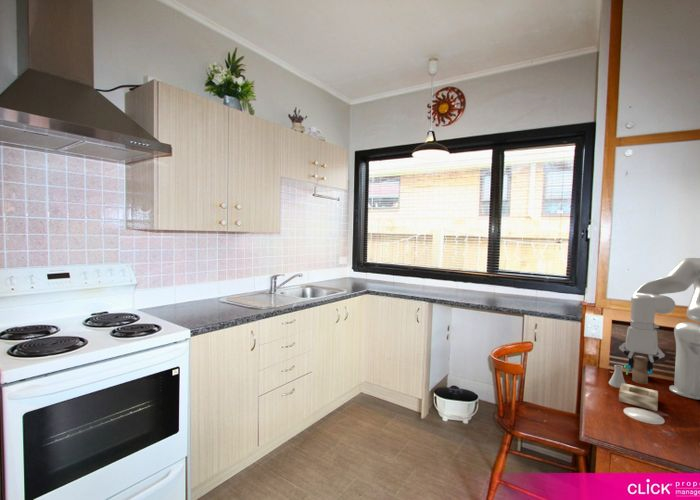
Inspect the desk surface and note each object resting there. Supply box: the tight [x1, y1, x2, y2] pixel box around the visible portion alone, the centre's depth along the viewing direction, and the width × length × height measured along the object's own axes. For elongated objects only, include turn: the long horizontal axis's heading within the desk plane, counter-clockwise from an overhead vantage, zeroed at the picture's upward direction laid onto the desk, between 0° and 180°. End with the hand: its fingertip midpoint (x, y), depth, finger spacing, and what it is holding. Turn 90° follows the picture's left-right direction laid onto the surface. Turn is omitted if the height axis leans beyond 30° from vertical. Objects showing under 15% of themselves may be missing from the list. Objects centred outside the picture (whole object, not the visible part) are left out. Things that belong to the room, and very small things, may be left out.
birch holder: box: [618, 382, 659, 412], centre depth 145 cm, size 12×12×5 cm
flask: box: [608, 364, 627, 389], centre depth 161 cm, size 7×7×10 cm
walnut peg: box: [631, 355, 649, 385], centre depth 145 cm, size 5×5×10 cm
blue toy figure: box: [623, 363, 653, 376], centre depth 174 cm, size 11×6×10 cm
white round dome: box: [623, 407, 666, 425], centre depth 133 cm, size 12×12×1 cm
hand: (640, 368), depth 145 cm, fingers closed on walnut peg, 5 cm apart
